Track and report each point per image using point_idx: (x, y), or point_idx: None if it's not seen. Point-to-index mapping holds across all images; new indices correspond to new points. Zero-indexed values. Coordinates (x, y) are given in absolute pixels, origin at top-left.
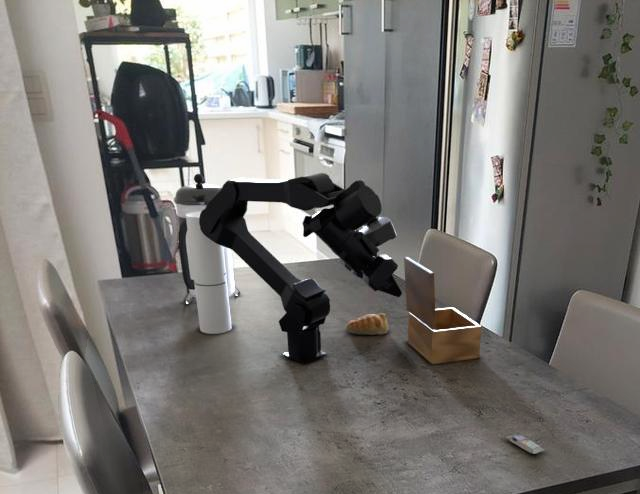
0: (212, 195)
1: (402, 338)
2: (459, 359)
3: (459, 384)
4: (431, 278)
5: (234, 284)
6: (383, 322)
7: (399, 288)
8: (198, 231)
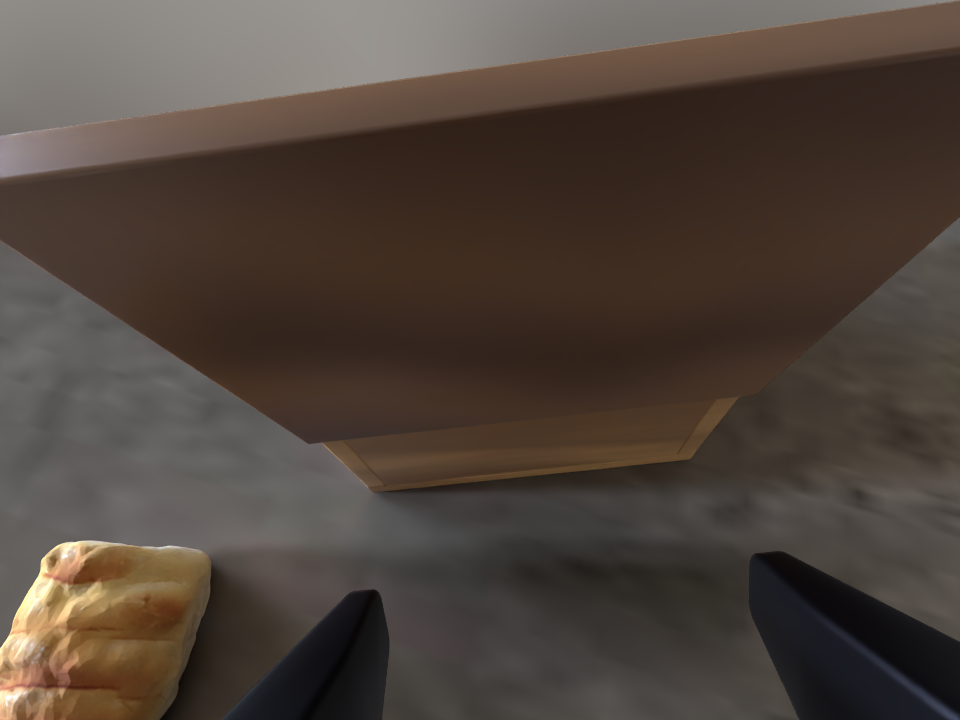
0: None
1: (309, 500)
2: None
3: (954, 414)
4: None
5: None
6: (161, 574)
7: (880, 602)
8: None
